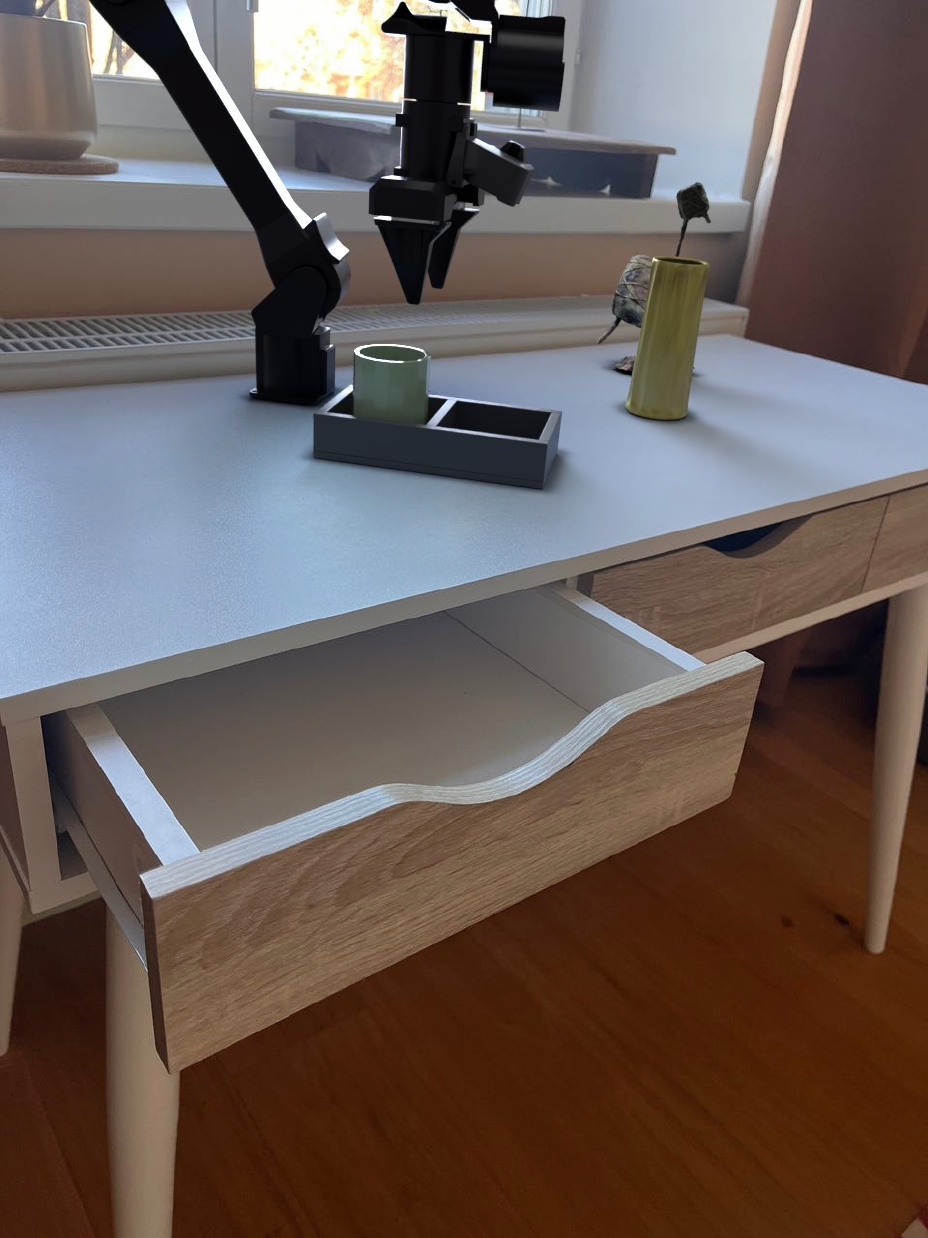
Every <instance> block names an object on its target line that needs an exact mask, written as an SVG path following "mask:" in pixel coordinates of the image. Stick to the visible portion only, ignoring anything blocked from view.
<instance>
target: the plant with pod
mask: <svg viewBox="0 0 928 1238" xmlns="http://www.w3.org/2000/svg"><path fill="white" fill-rule="evenodd" d="M675 199H676V203H677V209H678V214H679V216H680V219H682V220H683V221H682V224H681V227H680V237H679V241H678V244H677V248H676V250H675V251H676V252H675V255H674V257H680V254H681V248H682V244H683V240H684V239H685V234H686V233H687V228H688V223H689V221H691V220H693V219H696V218H697V219H701V218H703V219H704V220H705V222H706V223H707V224H711V223H712V220H711V218H710V216H709V214H708V212H709V210H710V200H709V198H708V195H707V192H706V190H705V187H704V185H703V184H702V183H701V182H699V181H696V182H694V183H693V184H691V185H688V186H685V187H683V188H682V189H679V190H678V191H677V193H676V196H675ZM632 254H634V255H633V256H632V257H631V258H630V259H629V262H628V263H627V265H626V266H625V268H624V270H623V271H622V273H621V276H620V279H619V282H618V285H617V287H616V289H615V291H614V294H613V297H612V299H611V313H612V316H615V320H614V321H613V322H612V323H611V324H610V326H608V328H607V329H606V330H605V332H604V333H603V334H602V335H601V336H600V337H599V338H598V339H597V341H596V344H597V345H601V344H602V343H603V342H604V341H605V340H606V339H607V338H608V337H610V335H611V334H612V333H613V332H614V331H615V330H616V329H617V328H618V327H619V325H620V323H621V321H623V322H624V323H627V324H628V325H633V326H635V327H636V328H638V329H641V325H642V320H643V314H644V309H645V303H646V297H647V291H648V285H649V278H650V271H651V265H652V259H653V257H650V256H648V255H645V254H638V253H637V252H632ZM637 254H638V255H637ZM624 356H625V357H623V358H621V359H620V360H619V362H618V363H617V364H616V365H613V368H614V369H618V370H621V369H622V370H624V371H630V372H633V367H634V362H635V358H636V355H630V356H629V355H628V356H626V355H624ZM695 369H696V368H695V367H694V366H693V370H695Z"/></svg>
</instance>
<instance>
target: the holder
mask: <svg viewBox="0 0 928 1238" xmlns="http://www.w3.org/2000/svg"><path fill="white" fill-rule="evenodd" d="M312 415H313V418H312V419H313V422H312V423H313V426H312V427H313V428H312V432H313V433H312V434H313V436H312V438H313V439H312V441H313V442H312V443H313V444H312V448H313V449H312V450H313V451H312V452H313V453H312V455H313V458H315V459H321V460H328V461H335V462H343V463H351V464H357V465H366V466H370V467H371V466H373V467H378V468H379V467H380V468H385V469H387V468H388V469H394V470H402V471H409V472H415V473H423V474H429V475H438V476H445V477H452V478H457V479H466V480H474V481H479V482H480V481H481V482H488V483H495V484H496V483H497V484H501V485H509V486H510V485H511V486H517V487H524V488H531V489H539V490H542V489H544V486H545V484H546V482H547V479H548V476H549V474H550V471H551V469H552V466H553V465H554V461H555V459H556V456H557V454H558V451H559V442H560V432H561V424H562V416H563V411H562V410H555V409H547V408H539V407H531V406H522V405H517V404H516V405H515V404H508V403H500V402H494V401H493V402H491V401H484V400H476V399H467V398H461V397H451V396H444V395H436V394H429V398H428V416H427V425H421V424H413V423H406V422H398V421H390V420H383V419H375V418H367V417H360V416H353V384H348V386H346V387H345V388H344V389H343V390H342V391H340V392H339V393H338V394H336V395H335V396H334V397H333V398H331V399H330V400H328V402H326V403H325V404H323V405H322V406H321V407H319V409H317V410H316V411H314V412H313V414H312Z"/></svg>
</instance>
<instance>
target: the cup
mask: <svg viewBox="0 0 928 1238" xmlns="http://www.w3.org/2000/svg"><path fill="white" fill-rule="evenodd" d="M431 362H432V356H431V354H430V353H429V352H428V351H426V350H424V349H421V348H418V347H412V346H409V345H408V346H407V345H401V344H383V343H382V344H379V343H378V344H368V345H362V346H358V347H357V348H355V349H354V350H353V369H352V371H353V373H352V374H353V377H352V385H353V416H360V417H367V418H375V419H383V420H390V421H398V422H406V423H413V424H421V425H427V416H428V398H429V395H430V394H429V393H430V378H431V364H432V363H431Z"/></svg>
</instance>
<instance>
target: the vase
mask: <svg viewBox="0 0 928 1238" xmlns="http://www.w3.org/2000/svg"><path fill="white" fill-rule="evenodd" d="M709 270H710V262H709V261H708V262H707V261H705V260H702V259H697V258H691V257H683V256H679V257H675V255H674V256H670V255H660V256H657V255H656V256H653V257H652V265H651V271H650V278H649V285H648V291H647V297H646V303H645V309H644V314H643V320H642V325H641V328H640V331H639V336H638V343H637V348H636V354H635V356H636V358H635V362H634V367H633V371H632V373H631V379H630V385H629V390H628V393H627V398H626V401H625V405H624V406H625V408H626V410H627V411H628V412H629V413H630V414H633V415H636V416H638V417H641V418H642V417H643V418H646V419H652V420H659V421H660V420H661V421H674V420H681V419H683V418H685V417H687V416H688V412H689V400H690V394H691V387H692V381H693V380H692V379H693V372H694V369H693V367H694V366H695V365H694V364H695V358H696V352H697V346H698V345H697V344H698V339H699V338H698V336H699V329H700V324H701V319H702V317H701V316H702V311H703V305H704V301H705V300H704V299H705V293H706V288H707V282H708V276H709V272H710V271H709Z"/></svg>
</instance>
